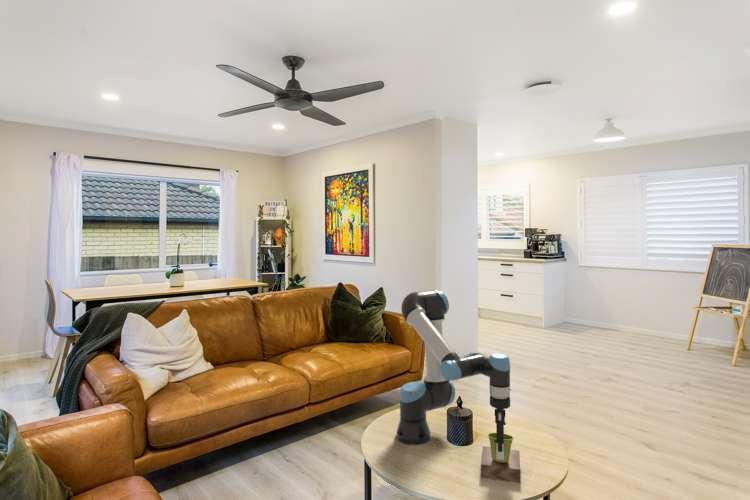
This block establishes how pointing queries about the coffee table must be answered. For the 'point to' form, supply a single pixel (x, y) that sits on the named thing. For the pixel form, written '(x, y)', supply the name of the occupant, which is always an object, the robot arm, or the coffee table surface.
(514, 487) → the coffee table surface
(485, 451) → the block
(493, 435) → the plant pot
